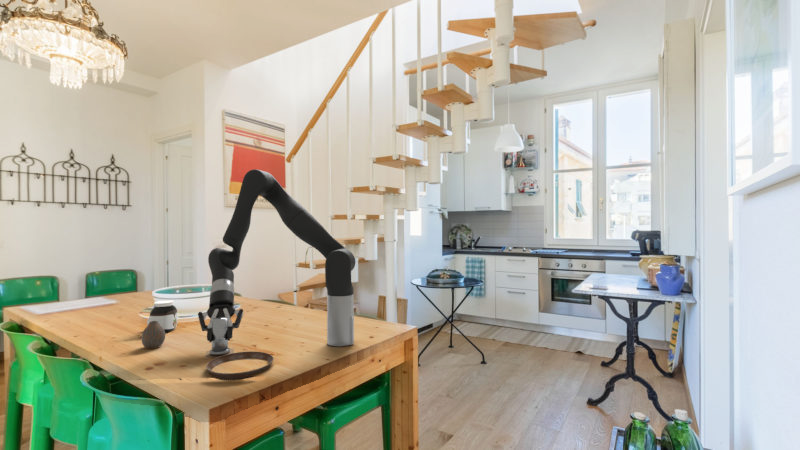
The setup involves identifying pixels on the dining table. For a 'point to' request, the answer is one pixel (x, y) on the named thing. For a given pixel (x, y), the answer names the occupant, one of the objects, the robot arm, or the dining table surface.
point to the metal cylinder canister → (219, 336)
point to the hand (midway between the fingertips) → (219, 339)
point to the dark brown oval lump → (153, 335)
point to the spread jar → (164, 315)
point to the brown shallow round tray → (234, 357)
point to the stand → (216, 356)
